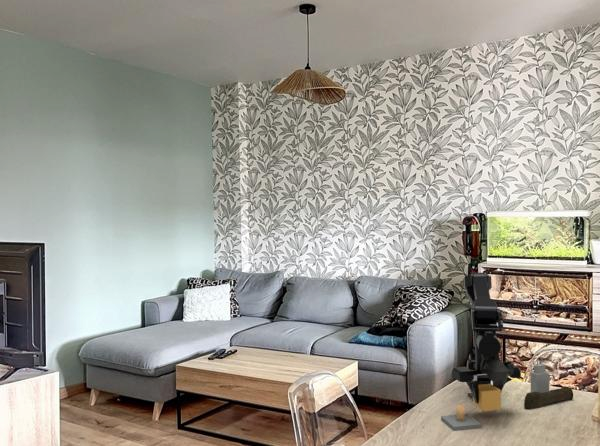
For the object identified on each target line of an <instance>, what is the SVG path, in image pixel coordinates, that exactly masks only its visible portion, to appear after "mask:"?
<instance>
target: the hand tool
mask: <svg viewBox="0 0 600 446" xmlns="http://www.w3.org/2000/svg"><path fill="white" fill-rule="evenodd" d="M573 399H574V391H573V389H572V388H570V387H568V386H566V385H564V386H562V387H561V388H555V389H551V390H550V389H549V391H548V392H543V393H540V392H536V391H535V392H531V391H530V392H527V393H526V395H525V397H524V400H523V401H524V402H523V408H524V409H525V410H526V409H528V410H530V409H539V408H541V407H542V406H544V405H547V404H548V405H549V404H552V403H556V402H561V401H566V400H569V401H573Z"/></svg>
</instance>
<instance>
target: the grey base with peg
mask: <svg viewBox="0 0 600 446" xmlns="http://www.w3.org/2000/svg"><path fill="white" fill-rule="evenodd" d="M440 420H441V421H442V422H444V424H445V425H447V426H448V427H449V428H450V429H451V430H453V431H463V430H471V429H472V430H473V429H482V423H481V422H479V421H478V420H477V419H475V418H474V417H472V415H469V414H468V413H465V405H464V404H456V414H451V415H441V416H440Z"/></svg>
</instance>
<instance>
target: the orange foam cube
mask: <svg viewBox="0 0 600 446" xmlns="http://www.w3.org/2000/svg"><path fill="white" fill-rule="evenodd" d="M478 391H479V403H478V404H477V403H476V402H475V400H474V398H472V405H474V406H475V407H477V408H478V409H480V411H482V412H484V411H485V412H487V411H495V410H496V411H497V410H501V409H502V405H501V404H502V398H501V396H502V395H501V394H502V391H501V390H500V389H498V388H497V387H495V386H493V384H492V383H491V384H483V385H479V386H478Z"/></svg>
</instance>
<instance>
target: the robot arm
mask: <svg viewBox="0 0 600 446" xmlns="http://www.w3.org/2000/svg"><path fill="white" fill-rule="evenodd" d="M492 285H493V283H492V276H490V275H488V273H486V272H472V273H471V272H470V274H468V275H465V276H464V277H463V289H464V290H465V296H466V298H468V300H469V302H470V303H471V309H470V318H471V327H472V335H473V336H472V339H473V347H472V349H471V350H470V354H469V356H468V359H467V362H466V366H457V367H453V369H452V370H451V378H453V379H454V380H456V381H458V382H460V383H466V384H467V386H468V388H469V390H470V392H468V393H467V396H468V397H470V398H471V399H473V398H474V400H475V402H476V403H477V404H478V403H479V391H478V386H479V385H483V384H491V385H493V386H495V387H497V388H498V389H500V390H501V392H502V391H503V388H504V387H505V384H507V383H509V382H511V381H512V379H519V378H520V379H521V378H522V371H521V369H520V367H519V366H517V365H514V363H513V361H501V359H500V352H501V349H502V345H501V342H500V340H499V339H498V337H497V332H502V330H503V327H504V321H503V313H502V311H501V309H500V308H498V306H497V305H498V304H497V301H495V300H494V299H492V298H491V295H490V290H492V287H493V286H492Z"/></svg>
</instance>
